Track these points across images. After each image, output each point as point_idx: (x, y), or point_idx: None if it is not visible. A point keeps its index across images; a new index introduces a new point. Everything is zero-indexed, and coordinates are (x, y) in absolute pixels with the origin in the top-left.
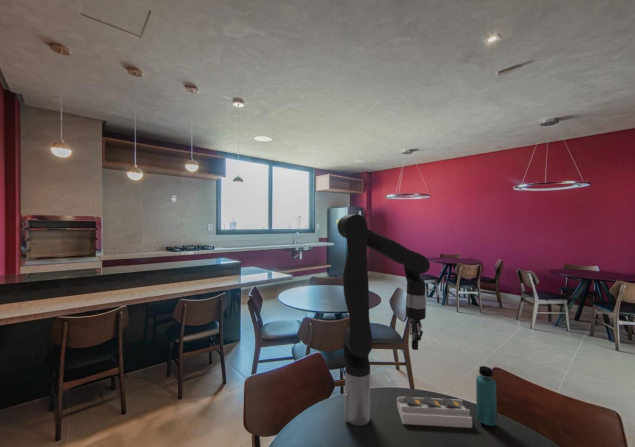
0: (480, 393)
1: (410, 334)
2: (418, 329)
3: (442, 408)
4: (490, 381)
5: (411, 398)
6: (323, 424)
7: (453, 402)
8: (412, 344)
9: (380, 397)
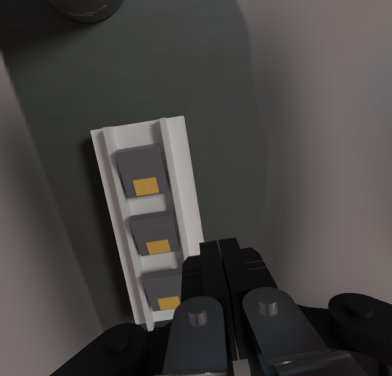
0: None
1: (346, 305)
2: None
3: (134, 259)
4: None
5: (152, 166)
6: None
7: (171, 297)
8: (201, 264)
9: (224, 58)
